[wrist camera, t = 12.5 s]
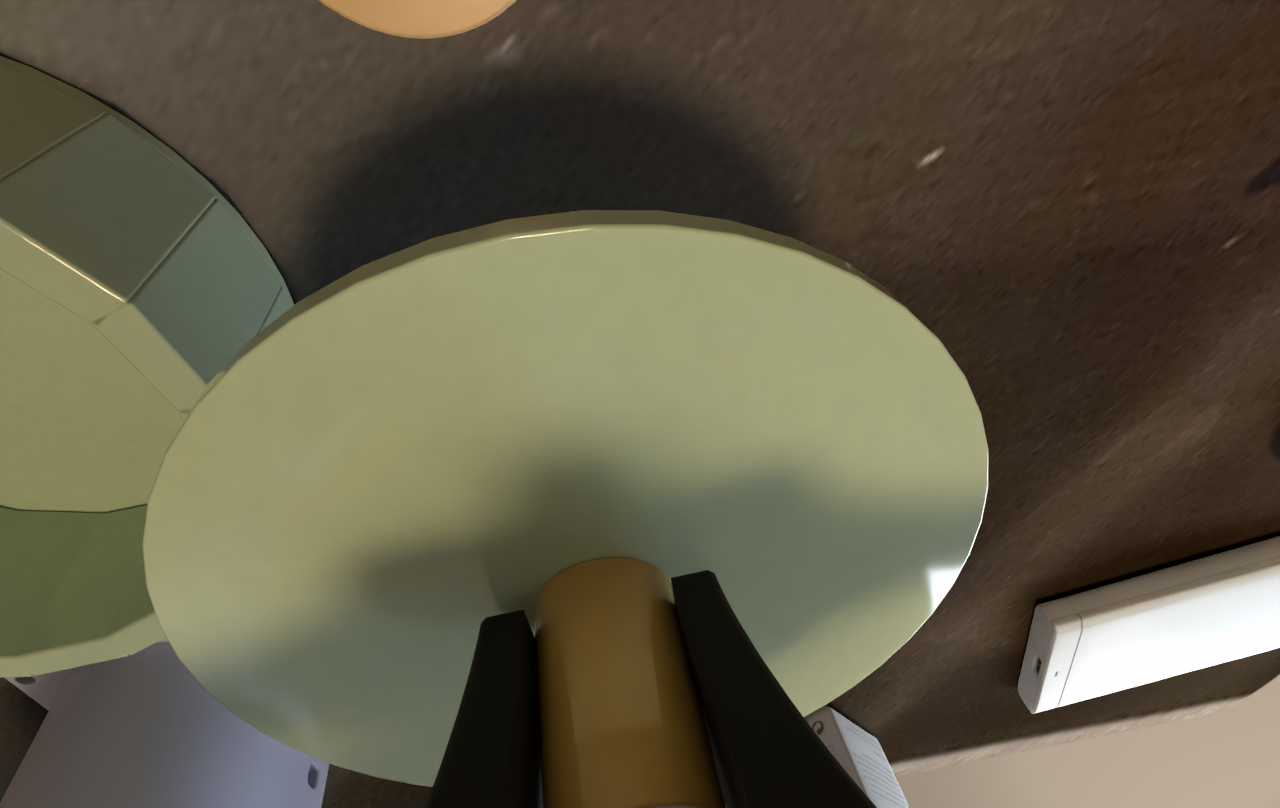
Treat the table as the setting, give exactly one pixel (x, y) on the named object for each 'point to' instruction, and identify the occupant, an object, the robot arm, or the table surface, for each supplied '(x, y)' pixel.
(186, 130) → the table surface
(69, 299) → the tin
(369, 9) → the spool
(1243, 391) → the table surface
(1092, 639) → the hard drive
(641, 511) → the lid
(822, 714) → the cosmetic box
